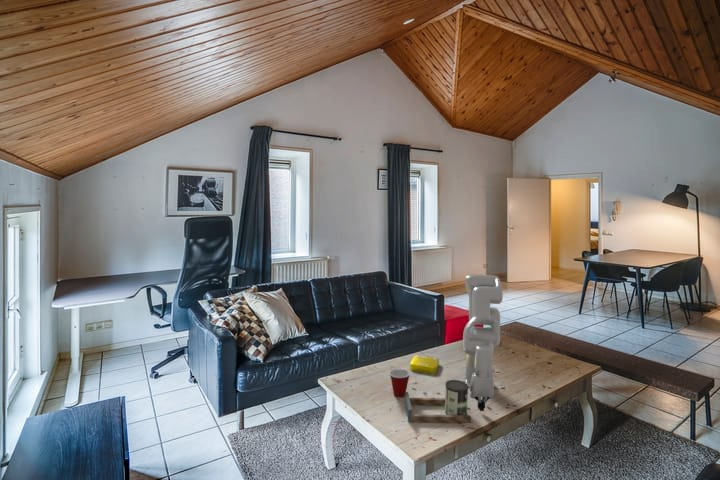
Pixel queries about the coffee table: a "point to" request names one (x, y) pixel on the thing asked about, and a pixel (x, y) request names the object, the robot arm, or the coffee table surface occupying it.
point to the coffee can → (456, 397)
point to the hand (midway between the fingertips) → (481, 409)
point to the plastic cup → (399, 381)
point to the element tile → (424, 364)
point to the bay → (431, 418)
